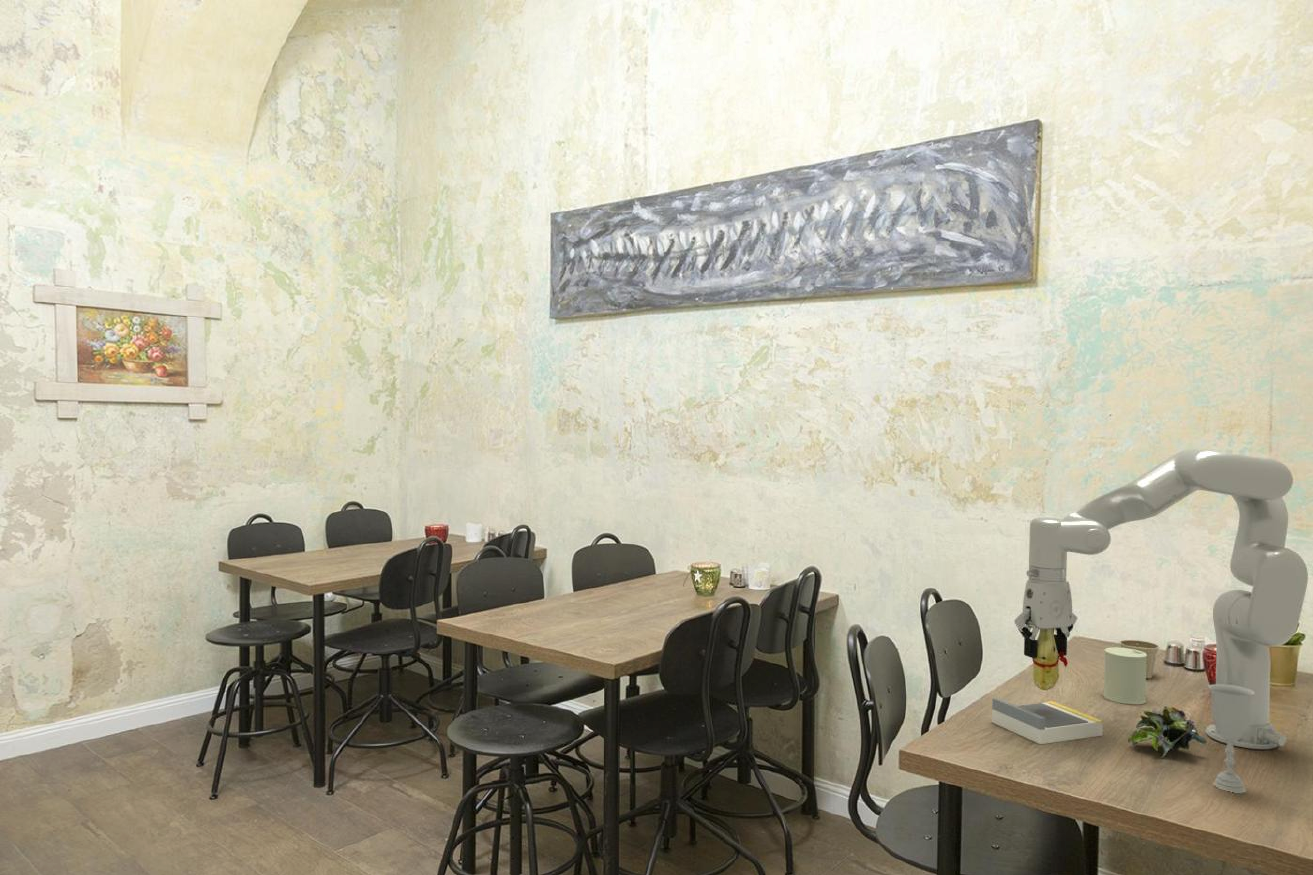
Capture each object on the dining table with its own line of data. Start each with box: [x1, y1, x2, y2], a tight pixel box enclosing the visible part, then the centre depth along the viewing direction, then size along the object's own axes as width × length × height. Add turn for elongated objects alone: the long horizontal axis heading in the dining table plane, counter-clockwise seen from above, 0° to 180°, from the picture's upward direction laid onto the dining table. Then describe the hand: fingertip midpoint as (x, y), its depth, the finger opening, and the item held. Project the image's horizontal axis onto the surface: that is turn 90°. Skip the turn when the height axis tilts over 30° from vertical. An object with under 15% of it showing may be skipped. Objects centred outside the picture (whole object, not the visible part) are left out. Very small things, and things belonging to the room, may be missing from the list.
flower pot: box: [1118, 639, 1160, 680], centre depth 230 cm, size 9×9×9 cm
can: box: [1102, 646, 1147, 706], centre depth 210 cm, size 9×9×12 cm
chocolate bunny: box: [1031, 629, 1068, 691], centre depth 187 cm, size 7×11×15 cm, turn 150°
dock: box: [991, 697, 1103, 745], centre depth 187 cm, size 14×17×5 cm
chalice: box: [1207, 683, 1255, 794], centre depth 157 cm, size 7×7×18 cm
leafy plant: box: [1127, 706, 1207, 760], centre depth 174 cm, size 11×11×12 cm
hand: (1045, 654), depth 187 cm, fingers closed on chocolate bunny, 7 cm apart
